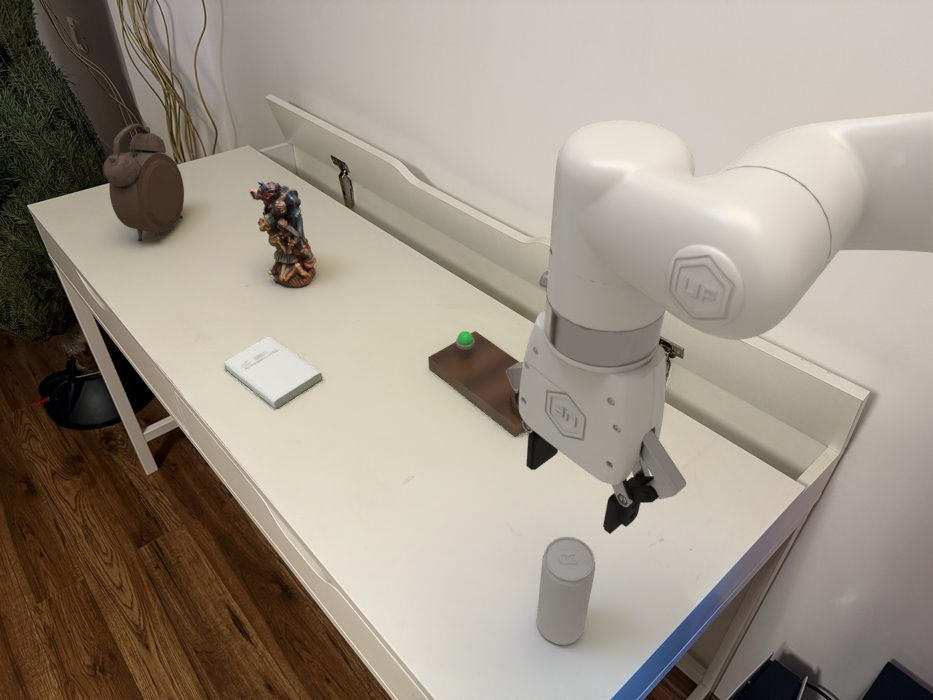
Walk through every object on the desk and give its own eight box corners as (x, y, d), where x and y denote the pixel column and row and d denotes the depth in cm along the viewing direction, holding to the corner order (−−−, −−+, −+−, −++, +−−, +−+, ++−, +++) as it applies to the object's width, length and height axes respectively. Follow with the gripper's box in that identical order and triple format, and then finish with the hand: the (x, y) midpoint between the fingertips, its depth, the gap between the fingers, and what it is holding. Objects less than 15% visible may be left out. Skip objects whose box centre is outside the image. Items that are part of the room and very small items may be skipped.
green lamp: (478, 345, 99) (478, 333, 97) (464, 353, 97) (464, 341, 96) (466, 336, 100) (466, 324, 99) (452, 344, 99) (452, 332, 98)
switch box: (575, 413, 93) (577, 391, 91) (527, 446, 89) (528, 425, 86) (475, 341, 105) (475, 321, 103) (428, 368, 101) (427, 347, 98)
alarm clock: (162, 210, 138) (129, 111, 125) (196, 213, 137) (165, 113, 124) (120, 248, 127) (79, 144, 114) (156, 252, 126) (119, 147, 113)
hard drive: (275, 410, 95) (225, 369, 101) (323, 379, 99) (272, 342, 106) (273, 401, 94) (222, 361, 100) (321, 371, 98) (269, 334, 105)
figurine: (248, 291, 116) (222, 194, 105) (268, 262, 123) (246, 167, 111) (310, 297, 115) (290, 198, 103) (327, 266, 122) (310, 171, 110)
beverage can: (586, 648, 69) (599, 581, 61) (537, 647, 69) (544, 581, 61) (581, 603, 72) (592, 535, 65) (534, 602, 73) (540, 535, 65)
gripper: (471, 284, 48) (473, 452, 60) (679, 418, 38) (634, 590, 50) (546, 245, 52) (535, 410, 64) (754, 358, 42) (696, 531, 53)
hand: (578, 488), depth 57 cm, fingers open, 7 cm apart
